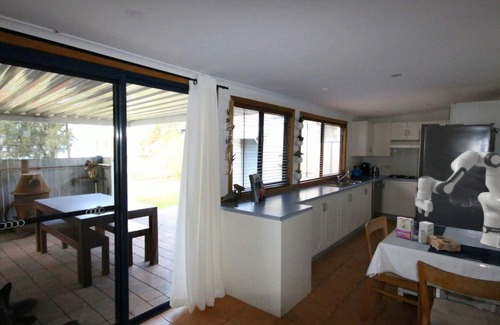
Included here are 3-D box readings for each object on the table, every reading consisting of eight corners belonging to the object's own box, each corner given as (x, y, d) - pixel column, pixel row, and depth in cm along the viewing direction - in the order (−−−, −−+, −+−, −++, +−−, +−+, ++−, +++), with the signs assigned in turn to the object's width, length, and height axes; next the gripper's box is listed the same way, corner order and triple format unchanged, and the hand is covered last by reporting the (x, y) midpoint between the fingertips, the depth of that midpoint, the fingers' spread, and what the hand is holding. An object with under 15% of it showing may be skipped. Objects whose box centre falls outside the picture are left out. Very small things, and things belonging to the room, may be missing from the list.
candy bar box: (413, 239, 210) (414, 219, 209) (410, 240, 207) (411, 220, 206) (398, 235, 219) (399, 216, 218) (396, 236, 216) (396, 217, 215)
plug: (423, 241, 205) (424, 229, 204) (426, 243, 201) (426, 231, 200) (418, 241, 205) (418, 229, 205) (420, 243, 201) (420, 231, 201)
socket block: (445, 242, 203) (446, 235, 202) (459, 251, 185) (460, 244, 185) (425, 241, 205) (426, 234, 205) (438, 250, 188) (438, 243, 187)
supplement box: (427, 239, 209) (428, 224, 208) (418, 236, 215) (418, 221, 215) (433, 238, 211) (434, 223, 211) (424, 235, 218) (425, 220, 217)
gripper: (435, 199, 190) (434, 218, 191) (422, 194, 210) (421, 211, 211) (426, 199, 191) (425, 218, 192) (413, 194, 211) (413, 211, 212)
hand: (423, 214), depth 202 cm, fingers open, 8 cm apart
